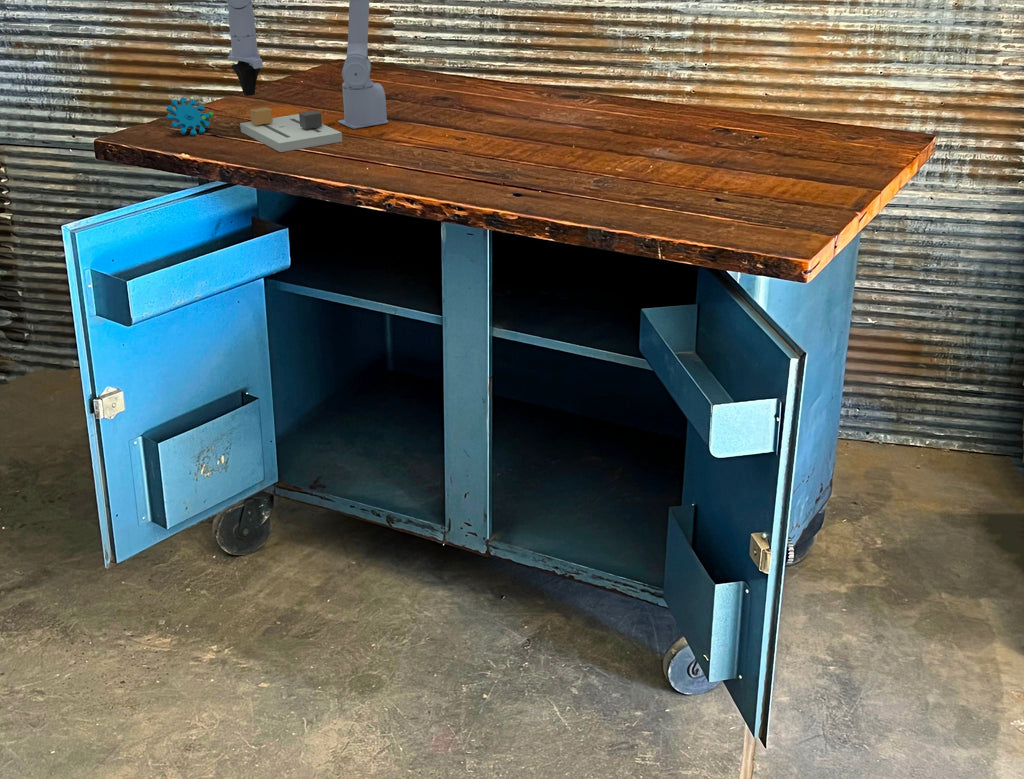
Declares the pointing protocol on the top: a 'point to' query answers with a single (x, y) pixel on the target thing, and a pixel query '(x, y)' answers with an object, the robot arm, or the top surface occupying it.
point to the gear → (188, 116)
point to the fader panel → (290, 134)
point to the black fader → (310, 119)
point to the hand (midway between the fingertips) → (249, 95)
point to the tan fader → (261, 116)
